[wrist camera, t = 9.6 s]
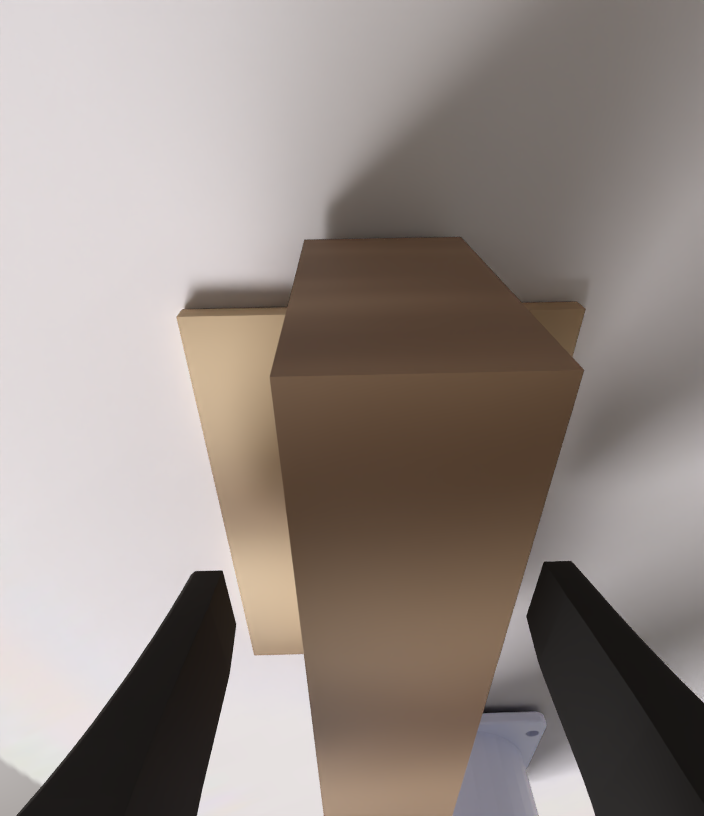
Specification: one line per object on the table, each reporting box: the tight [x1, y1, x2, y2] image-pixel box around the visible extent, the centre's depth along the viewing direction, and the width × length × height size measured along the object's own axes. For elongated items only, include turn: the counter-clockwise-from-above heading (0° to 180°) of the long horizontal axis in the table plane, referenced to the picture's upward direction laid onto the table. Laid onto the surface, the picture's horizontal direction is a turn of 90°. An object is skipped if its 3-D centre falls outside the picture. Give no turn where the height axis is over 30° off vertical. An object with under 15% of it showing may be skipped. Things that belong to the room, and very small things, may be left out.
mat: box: [177, 302, 585, 655], centre depth 13 cm, size 12×8×1 cm, turn 1°
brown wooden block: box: [270, 237, 584, 816], centre depth 10 cm, size 14×3×5 cm, turn 1°
